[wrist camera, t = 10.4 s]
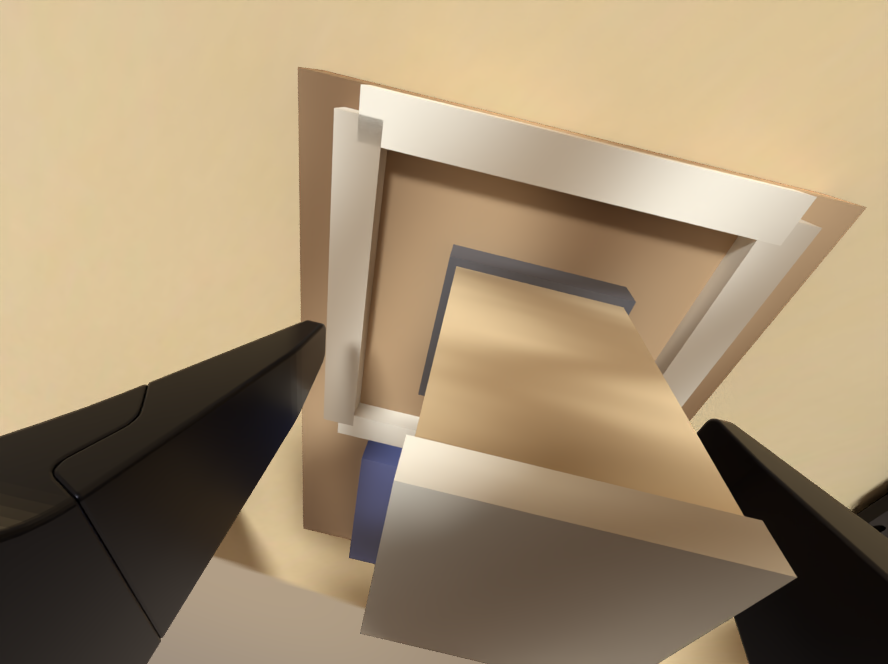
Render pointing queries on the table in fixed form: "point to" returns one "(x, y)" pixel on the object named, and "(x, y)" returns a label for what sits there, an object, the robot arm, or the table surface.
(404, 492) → the stamp
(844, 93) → the table surface
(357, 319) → the board
